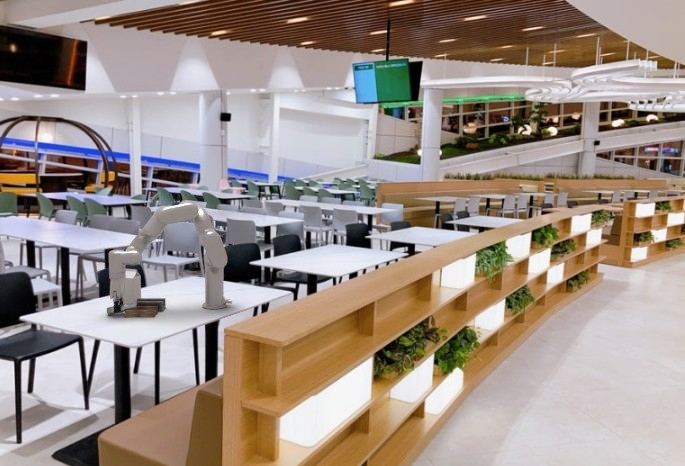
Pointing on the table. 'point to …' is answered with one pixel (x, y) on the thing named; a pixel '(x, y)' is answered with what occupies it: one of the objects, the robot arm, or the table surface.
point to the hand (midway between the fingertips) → (118, 310)
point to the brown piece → (142, 312)
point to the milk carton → (132, 286)
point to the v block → (152, 302)
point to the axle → (123, 308)
